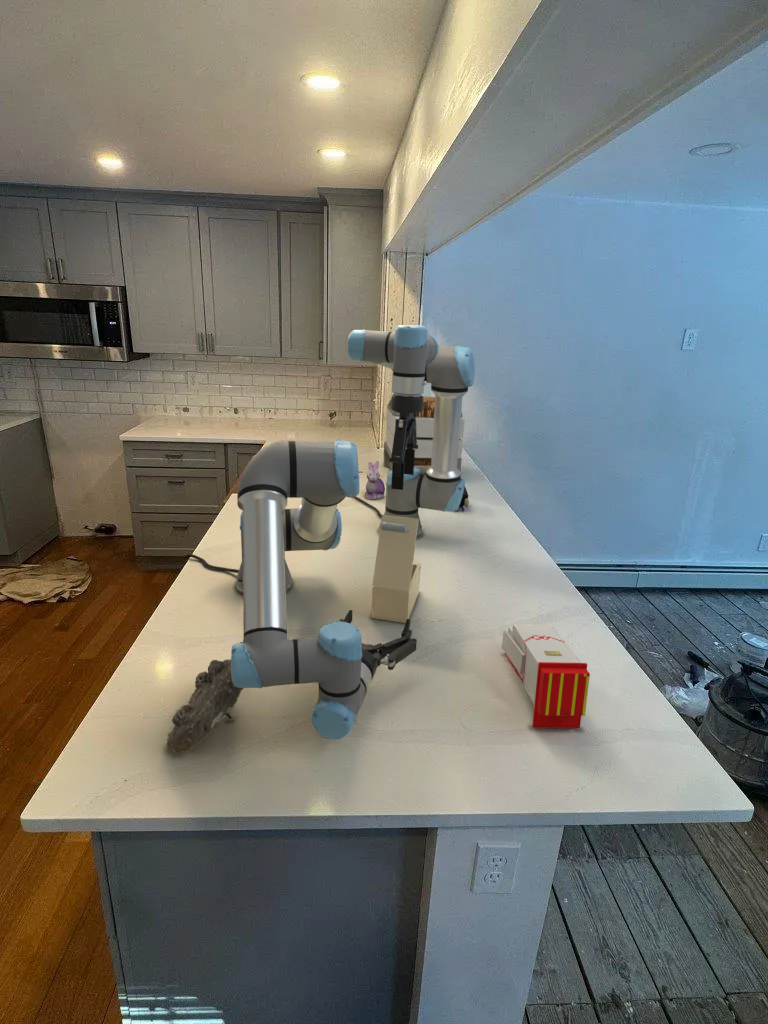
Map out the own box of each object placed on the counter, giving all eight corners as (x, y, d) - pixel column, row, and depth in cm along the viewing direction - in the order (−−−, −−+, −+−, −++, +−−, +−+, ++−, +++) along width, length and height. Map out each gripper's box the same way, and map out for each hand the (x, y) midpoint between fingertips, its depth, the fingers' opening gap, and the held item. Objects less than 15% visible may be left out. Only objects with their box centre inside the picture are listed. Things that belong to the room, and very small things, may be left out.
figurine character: (468, 516, 224) (463, 500, 237) (471, 498, 221) (465, 483, 234) (452, 515, 224) (447, 499, 237) (453, 498, 220) (449, 482, 234)
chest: (386, 587, 161) (387, 559, 158) (418, 592, 159) (420, 564, 156) (371, 617, 145) (372, 587, 142) (407, 623, 143) (409, 592, 140)
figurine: (370, 501, 232) (371, 465, 226) (359, 493, 240) (360, 459, 235) (390, 498, 236) (392, 463, 231) (379, 491, 244) (380, 457, 239)
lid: (382, 514, 144) (376, 511, 136) (418, 519, 142) (414, 516, 134) (372, 585, 142) (365, 586, 134) (409, 590, 140) (404, 592, 133)
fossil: (192, 660, 117) (244, 628, 112) (224, 691, 120) (276, 661, 115) (142, 746, 98) (202, 712, 93) (182, 779, 101) (242, 748, 96)
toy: (548, 608, 134) (599, 669, 104) (543, 661, 136) (591, 735, 107) (497, 607, 133) (533, 668, 104) (493, 660, 136) (527, 734, 107)
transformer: (382, 463, 289) (386, 382, 275) (445, 464, 293) (451, 384, 279) (390, 482, 257) (394, 392, 243) (460, 483, 261) (468, 394, 247)
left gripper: (294, 678, 115) (327, 625, 134) (415, 701, 110) (431, 642, 129) (294, 646, 112) (327, 597, 132) (417, 668, 107) (434, 613, 127)
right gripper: (414, 403, 121) (408, 497, 128) (431, 389, 144) (425, 469, 151) (379, 400, 122) (376, 494, 129) (402, 386, 145) (398, 467, 152)
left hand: (379, 619), depth 131 cm, fingers open, 13 cm apart
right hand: (402, 481), depth 140 cm, fingers open, 13 cm apart
